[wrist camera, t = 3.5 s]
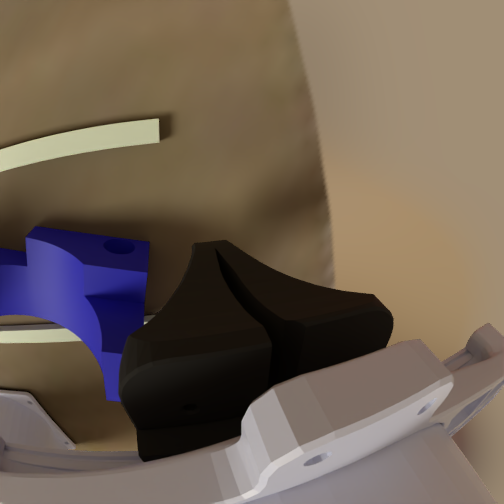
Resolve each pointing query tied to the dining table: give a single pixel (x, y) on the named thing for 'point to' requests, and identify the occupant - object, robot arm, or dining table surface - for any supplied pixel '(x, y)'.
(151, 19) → the dining table surface
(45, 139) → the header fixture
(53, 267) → the cable clip
